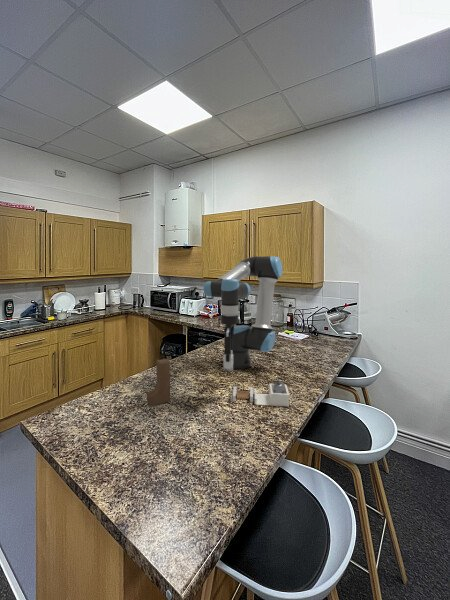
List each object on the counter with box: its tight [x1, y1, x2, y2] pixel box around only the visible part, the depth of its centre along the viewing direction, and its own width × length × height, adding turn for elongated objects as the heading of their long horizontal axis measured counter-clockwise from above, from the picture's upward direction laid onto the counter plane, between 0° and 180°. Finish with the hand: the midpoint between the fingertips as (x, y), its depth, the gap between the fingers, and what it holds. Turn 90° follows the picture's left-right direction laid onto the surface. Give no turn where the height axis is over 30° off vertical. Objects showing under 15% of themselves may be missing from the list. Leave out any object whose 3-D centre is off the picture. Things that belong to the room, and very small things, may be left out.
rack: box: [253, 383, 290, 407], centre depth 121 cm, size 10×14×6 cm
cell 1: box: [222, 353, 234, 372], centre depth 125 cm, size 4×4×8 cm
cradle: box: [232, 386, 254, 403], centre depth 123 cm, size 9×9×4 cm
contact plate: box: [236, 390, 250, 400], centre depth 123 cm, size 3×5×2 cm, turn 85°
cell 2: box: [273, 380, 285, 394], centre depth 120 cm, size 4×4×8 cm
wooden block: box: [146, 358, 171, 407], centre depth 120 cm, size 9×4×18 cm, turn 121°
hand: (228, 366), depth 125 cm, fingers closed on cell 1, 4 cm apart
